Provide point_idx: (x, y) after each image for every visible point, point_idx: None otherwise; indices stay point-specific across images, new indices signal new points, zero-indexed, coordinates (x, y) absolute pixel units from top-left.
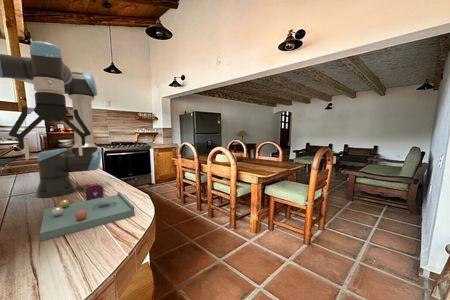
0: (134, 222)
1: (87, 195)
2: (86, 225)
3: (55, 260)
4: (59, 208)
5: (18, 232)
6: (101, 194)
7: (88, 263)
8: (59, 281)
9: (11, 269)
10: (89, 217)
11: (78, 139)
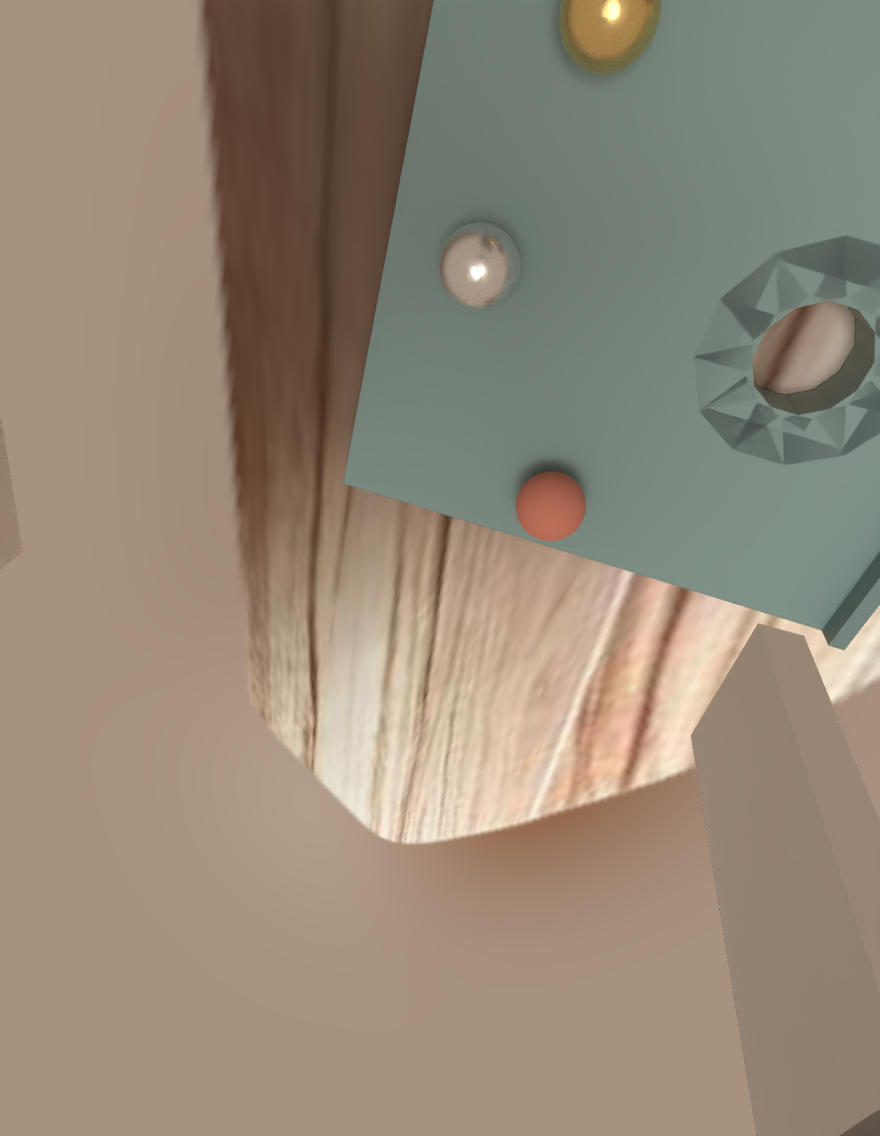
0: None
1: None
2: None
3: (369, 669)
4: (482, 299)
5: (276, 184)
6: None
7: (434, 764)
8: (355, 766)
9: (259, 603)
10: (596, 505)
11: (784, 1077)
